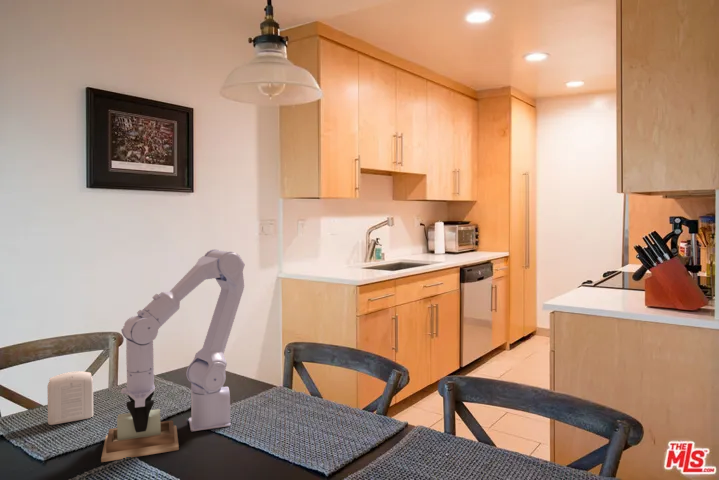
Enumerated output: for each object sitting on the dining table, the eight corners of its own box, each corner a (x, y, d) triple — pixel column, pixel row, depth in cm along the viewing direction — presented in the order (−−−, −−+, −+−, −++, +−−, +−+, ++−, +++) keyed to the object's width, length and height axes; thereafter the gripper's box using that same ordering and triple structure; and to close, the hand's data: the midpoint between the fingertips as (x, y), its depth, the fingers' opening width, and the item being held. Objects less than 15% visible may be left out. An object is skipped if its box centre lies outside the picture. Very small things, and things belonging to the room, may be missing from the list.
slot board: (176, 428, 126) (176, 417, 126) (178, 449, 115) (178, 437, 115) (106, 438, 120) (105, 427, 120) (101, 462, 109) (100, 449, 109)
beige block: (118, 439, 118) (118, 414, 118) (160, 433, 121) (159, 408, 121) (117, 447, 114) (117, 421, 114) (160, 440, 118) (160, 415, 117)
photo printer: (92, 412, 136) (91, 367, 135) (94, 418, 132) (93, 371, 132) (47, 421, 130) (46, 373, 129) (48, 427, 127) (46, 378, 126)
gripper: (122, 362, 122) (123, 417, 123) (119, 380, 109) (120, 442, 110) (154, 359, 125) (155, 413, 126) (154, 376, 112) (155, 437, 112)
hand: (141, 426), depth 118 cm, fingers open, 4 cm apart
